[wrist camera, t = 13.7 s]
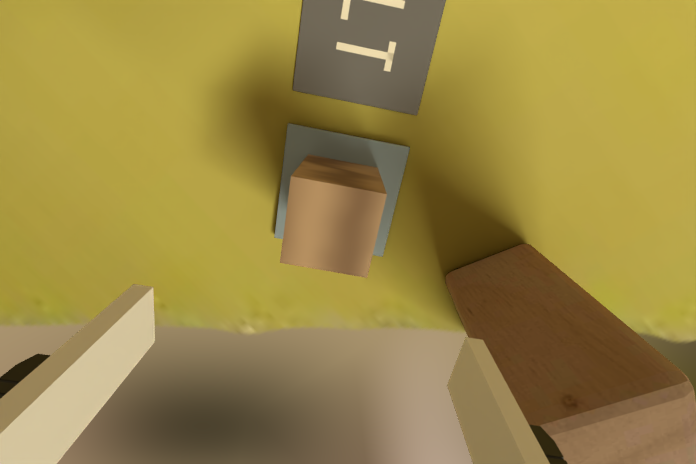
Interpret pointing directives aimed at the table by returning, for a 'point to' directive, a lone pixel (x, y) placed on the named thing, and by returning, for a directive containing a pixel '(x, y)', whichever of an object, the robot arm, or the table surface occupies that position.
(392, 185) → the pad
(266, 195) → the table surface
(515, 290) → the wooden block
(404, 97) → the plate
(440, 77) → the table surface
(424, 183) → the table surface
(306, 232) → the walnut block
